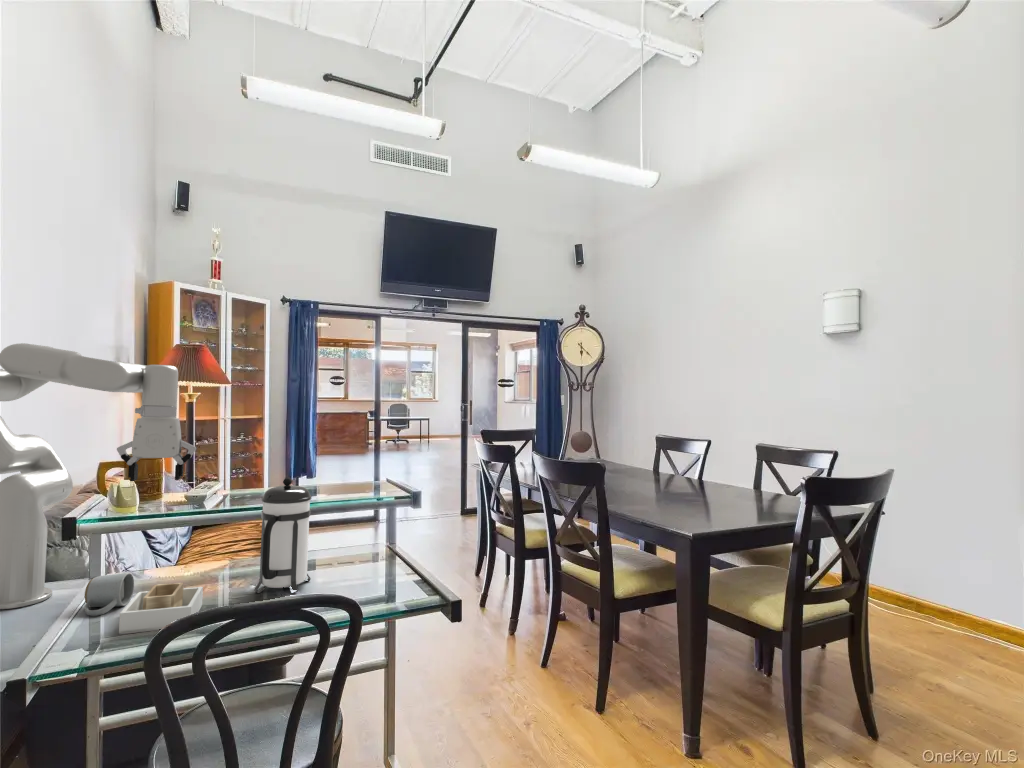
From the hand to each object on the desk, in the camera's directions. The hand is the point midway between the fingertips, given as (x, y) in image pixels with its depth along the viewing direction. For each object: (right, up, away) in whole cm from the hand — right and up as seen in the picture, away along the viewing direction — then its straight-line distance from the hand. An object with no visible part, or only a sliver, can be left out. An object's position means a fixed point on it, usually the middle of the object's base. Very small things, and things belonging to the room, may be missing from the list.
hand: (156, 480), depth 138 cm
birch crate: (+10, -30, -12) cm, 33 cm away
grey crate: (+10, -30, -12) cm, 34 cm away
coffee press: (+28, -32, +10) cm, 43 cm away
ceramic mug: (-8, -30, -6) cm, 32 cm away
